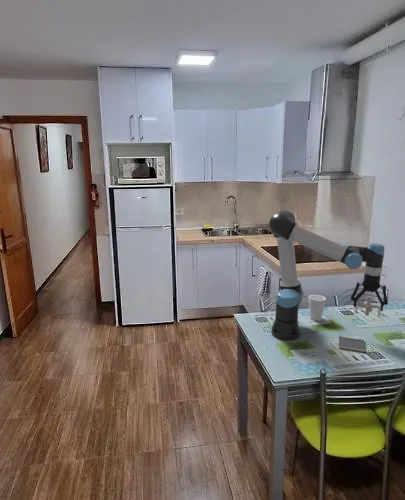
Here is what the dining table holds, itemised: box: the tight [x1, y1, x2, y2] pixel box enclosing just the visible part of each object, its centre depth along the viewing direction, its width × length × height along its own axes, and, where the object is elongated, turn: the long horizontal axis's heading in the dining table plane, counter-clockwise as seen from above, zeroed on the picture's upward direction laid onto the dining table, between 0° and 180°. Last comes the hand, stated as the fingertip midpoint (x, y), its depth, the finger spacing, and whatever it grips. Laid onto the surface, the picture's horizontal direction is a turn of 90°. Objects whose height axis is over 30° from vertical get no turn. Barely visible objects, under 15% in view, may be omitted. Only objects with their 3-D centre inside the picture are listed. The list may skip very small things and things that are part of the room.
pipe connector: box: [357, 295, 379, 316], centre depth 184 cm, size 10×10×10 cm
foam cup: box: [308, 294, 327, 321], centre depth 208 cm, size 10×9×13 cm
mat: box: [338, 335, 366, 354], centre depth 178 cm, size 12×12×1 cm
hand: (366, 314), depth 185 cm, fingers closed on pipe connector, 10 cm apart
